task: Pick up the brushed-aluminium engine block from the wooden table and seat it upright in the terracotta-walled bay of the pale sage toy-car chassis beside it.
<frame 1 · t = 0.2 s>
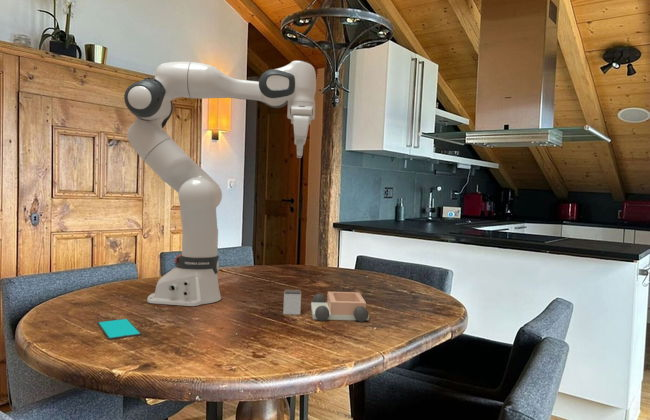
hand: (299, 156, 149), 47 cm above the table, fingers open, 8 cm apart
smartphone: (118, 331, 115), on the table
engine block: (291, 312, 138), on the table
chassis: (338, 313, 139), on the table
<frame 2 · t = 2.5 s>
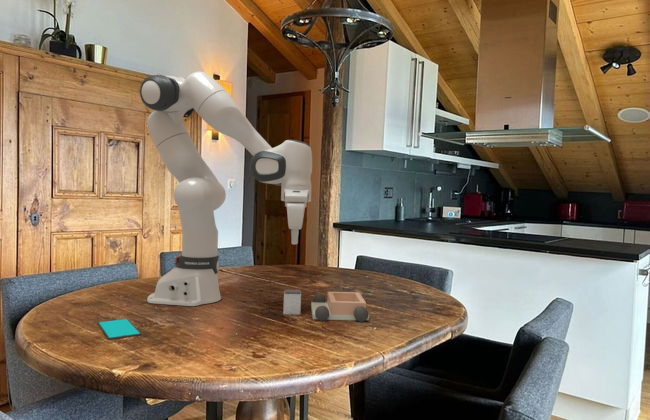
hand: (294, 242, 137), 21 cm above the table, fingers open, 8 cm apart
nothing on the table moved.
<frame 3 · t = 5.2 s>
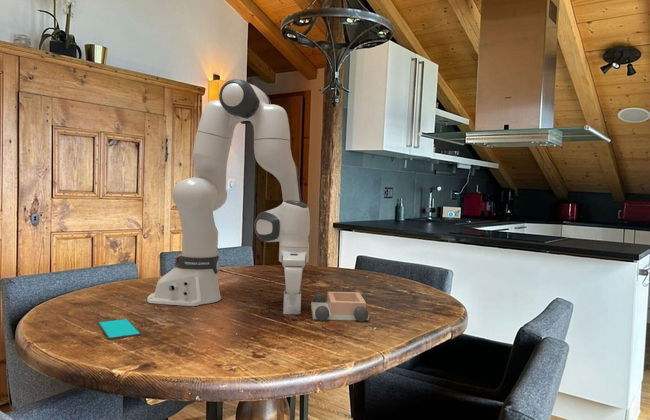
hand: (292, 302, 138), 3 cm above the table, fingers closed on engine block, 4 cm apart
engine block: (291, 312, 138), on the table, touching gripper
everything else where it was.
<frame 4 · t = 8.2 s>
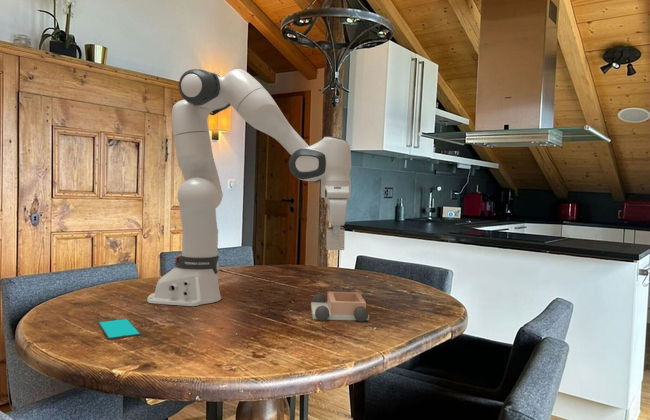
hand: (335, 238, 137), 22 cm above the table, fingers closed on engine block, 4 cm apart
engine block: (335, 249, 137), point 19 cm above the table, touching gripper
everything else where it was.
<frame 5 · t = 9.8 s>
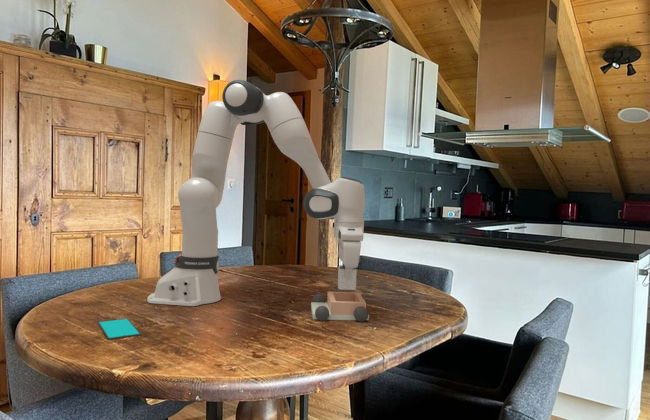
hand: (346, 278, 138), 11 cm above the table, fingers closed on engine block, 4 cm apart
engine block: (346, 288, 139), point 8 cm above the table, touching gripper
everything else where it was.
when the fingers open (6 cm above the table, at t = 11.2 s): engine block stays where it is, resting on chassis.
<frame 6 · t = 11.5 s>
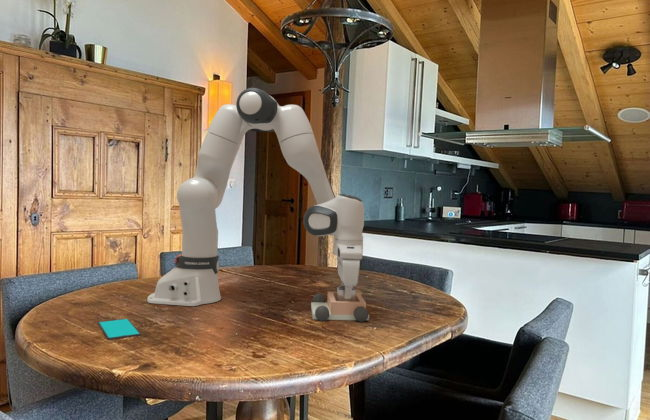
hand: (345, 295, 139), 6 cm above the table, fingers open, 7 cm apart
engine block: (345, 308, 139), point 1 cm above the table, touching chassis
everything else where it was.
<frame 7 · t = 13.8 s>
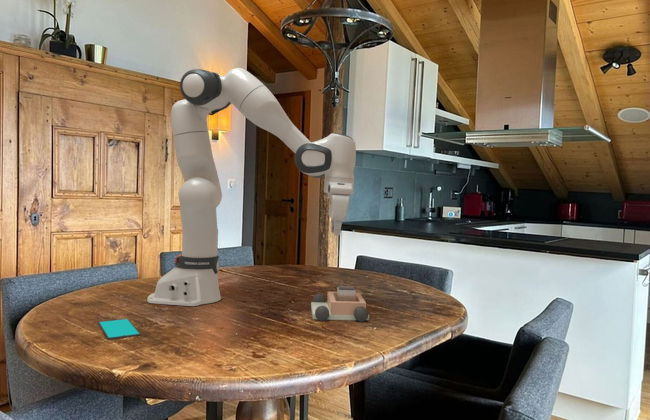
hand: (335, 233, 140), 24 cm above the table, fingers open, 8 cm apart
nothing on the table moved.
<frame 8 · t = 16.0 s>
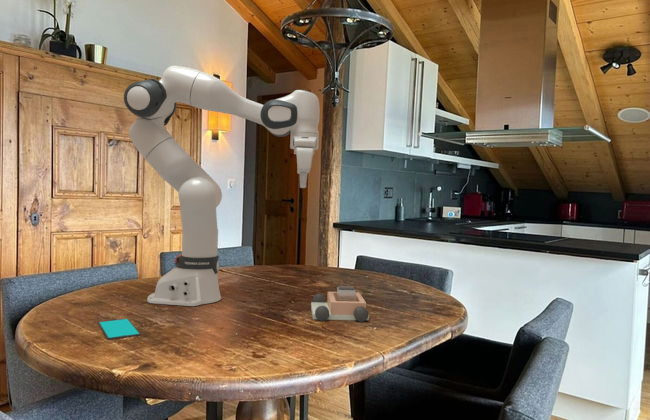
hand: (302, 187, 145), 37 cm above the table, fingers open, 8 cm apart
nothing on the table moved.
at the end: engine block 0.0 cm from the target spot on the chassis, point 1.5 cm above the chassis's base; engine block tilted 0°; the gripper is holding nothing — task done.
